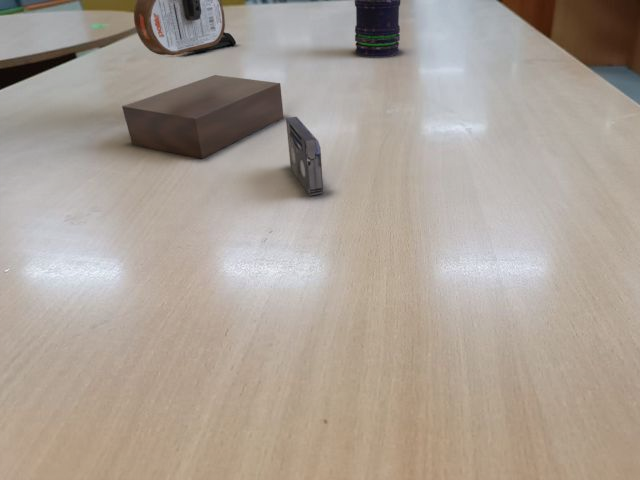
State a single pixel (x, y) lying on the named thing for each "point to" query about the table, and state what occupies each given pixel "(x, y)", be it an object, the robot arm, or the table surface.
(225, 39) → the electric trimmer
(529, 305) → the table surface
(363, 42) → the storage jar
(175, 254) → the table surface
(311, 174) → the mini dv tape
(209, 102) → the block
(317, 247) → the table surface
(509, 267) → the table surface
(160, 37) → the tin
